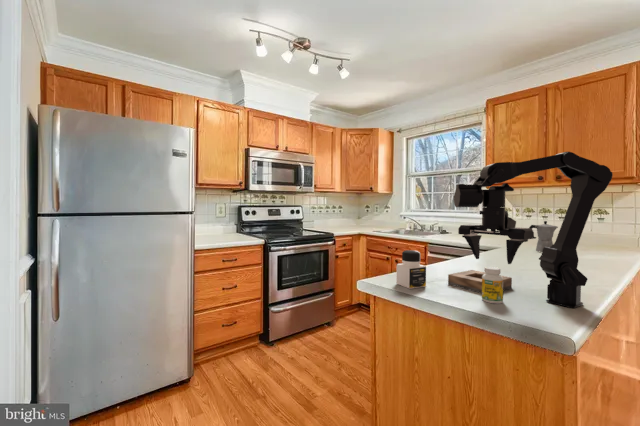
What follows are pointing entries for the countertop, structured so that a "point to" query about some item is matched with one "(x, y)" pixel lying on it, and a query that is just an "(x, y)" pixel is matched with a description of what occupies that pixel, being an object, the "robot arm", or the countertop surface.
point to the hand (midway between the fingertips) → (492, 261)
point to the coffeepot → (544, 235)
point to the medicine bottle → (411, 270)
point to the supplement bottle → (492, 285)
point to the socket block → (473, 280)
